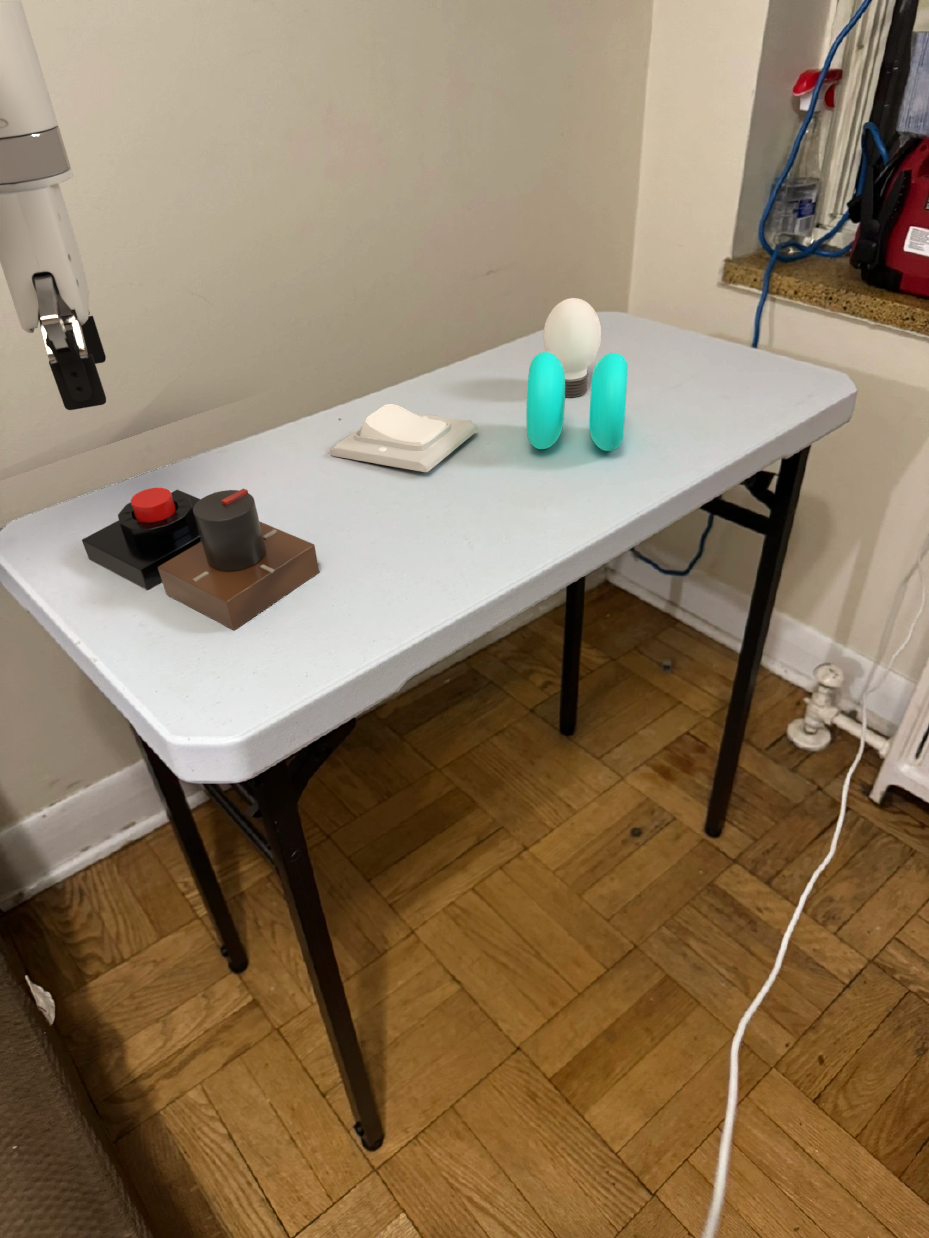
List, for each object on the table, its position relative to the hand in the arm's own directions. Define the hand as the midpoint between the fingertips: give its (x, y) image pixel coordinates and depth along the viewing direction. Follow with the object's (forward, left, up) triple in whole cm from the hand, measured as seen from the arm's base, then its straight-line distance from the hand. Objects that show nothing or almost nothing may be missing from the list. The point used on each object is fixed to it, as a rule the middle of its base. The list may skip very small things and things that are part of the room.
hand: (87, 384), depth 74 cm
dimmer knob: (+1, -14, -13) cm, 19 cm away
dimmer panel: (+1, -14, -16) cm, 21 cm away
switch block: (+1, -3, -16) cm, 16 cm away
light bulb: (+51, -17, -16) cm, 56 cm away
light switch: (+29, -9, -16) cm, 34 cm away
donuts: (+39, -25, -16) cm, 49 cm away
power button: (+1, -3, -12) cm, 13 cm away
